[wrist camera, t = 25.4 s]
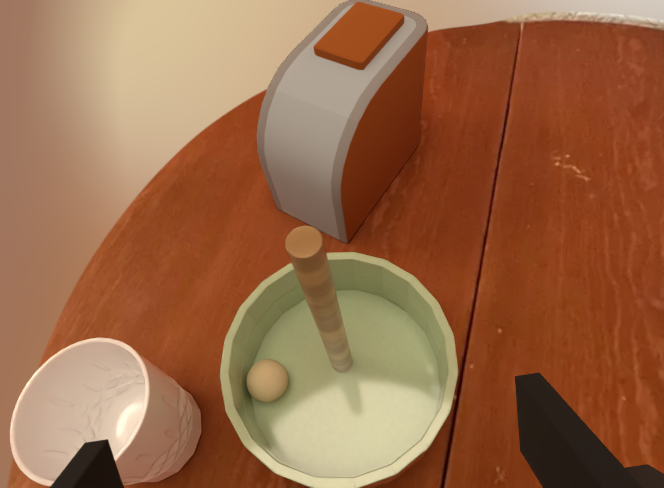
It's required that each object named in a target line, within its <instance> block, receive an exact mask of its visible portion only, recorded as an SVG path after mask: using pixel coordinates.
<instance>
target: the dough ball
mask: <svg viewBox="0 0 664 488" xmlns="http://www.w3.org/2000/svg"><path fill="white" fill-rule="evenodd" d="M246 384H247V389H248V391H249V393H250V394H251V396H252V397H253V398H254V399H256V400H258V401H260V402H273V401H275V400H277V399H279V398H280V397H281V396H282V395H283V394H284V392H285V390H286V388H287V385H288V375H287V372H286V370H285V368H284V367H283V365H282V364H280V363H279V362H277V361H275V360H271V359H265V360H261V361H259V362H257V363H256V364H254V365H253V366H252V367H251V369H250V370H249V372H248V375H247V379H246Z"/></svg>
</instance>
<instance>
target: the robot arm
mask: <svg viewBox="0 0 664 488" xmlns="http://www.w3.org/2000/svg"><path fill="white" fill-rule="evenodd" d="M515 384H516V397H517V411H518V425H519V439H520V451H521V453H522V454H523V456H524V457H525V459H526V461H527V462H528V464H529V466H530V467H531V469H532V470H533V472H534V474H535V475H536V477H537V479H538V480H539V482H540V483H541V485H542V487H543V488H664V474H663V473H661V472H660V471H658V470H656V469H655V468H653V467H651V466H650V465H648V464H647V465H641V466H634V467H627V468H624V467H623V466H622V464H621V463H620V462H619V461H618V460H617V459H616V458H615V457H614V455H613V454H612V453H611V452H610V451H609V450H608V449H607V448H606V447H605V445H604V444H603V443H602V442H601V441H600V440H599V439H598V438H597V436H596V435H595V434H594V433H593V432H592V431H591V430H590V429H589V428H588V426H587V425H586V424H585V423H584V422H583V421H582V420H581V419H580V417H579V416H578V415H577V414H576V413H575V412H574V411H573V410H572V409H571V407H570V406H569V405H568V404H567V403H566V402H565V401H564V400H563V399H562V397H561V396H560V395H559V394H558V393H557V392H556V391H555V390H554V388H553V387H552V386H551V385H550V384H549V383H548V382H547V381H546V380H545V378H544V377H543V376H542V375H541V374H540V373H534V374H527V375H521V376H515ZM50 488H124V486H123V483H122V480H121V477H120V474H119V471H118V468H117V465H116V462H115V459H114V456H113V453H112V450H111V447H110V444H109V441H108V439H106V440H99V441H93V442H86V443H84V444H83V446H82V447H81V448H80V449H79V451H78V452H77V453H76V454H75V456H74V457H73V458H72V460H71V461H70V462H69V463H68V465H67V466H66V467H65V469H64V470H63V471H62V472H61V474H60V475H59V476H58V478H57V479H56V480H55V481H54V483H53V484H52V485H51V487H50Z"/></svg>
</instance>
